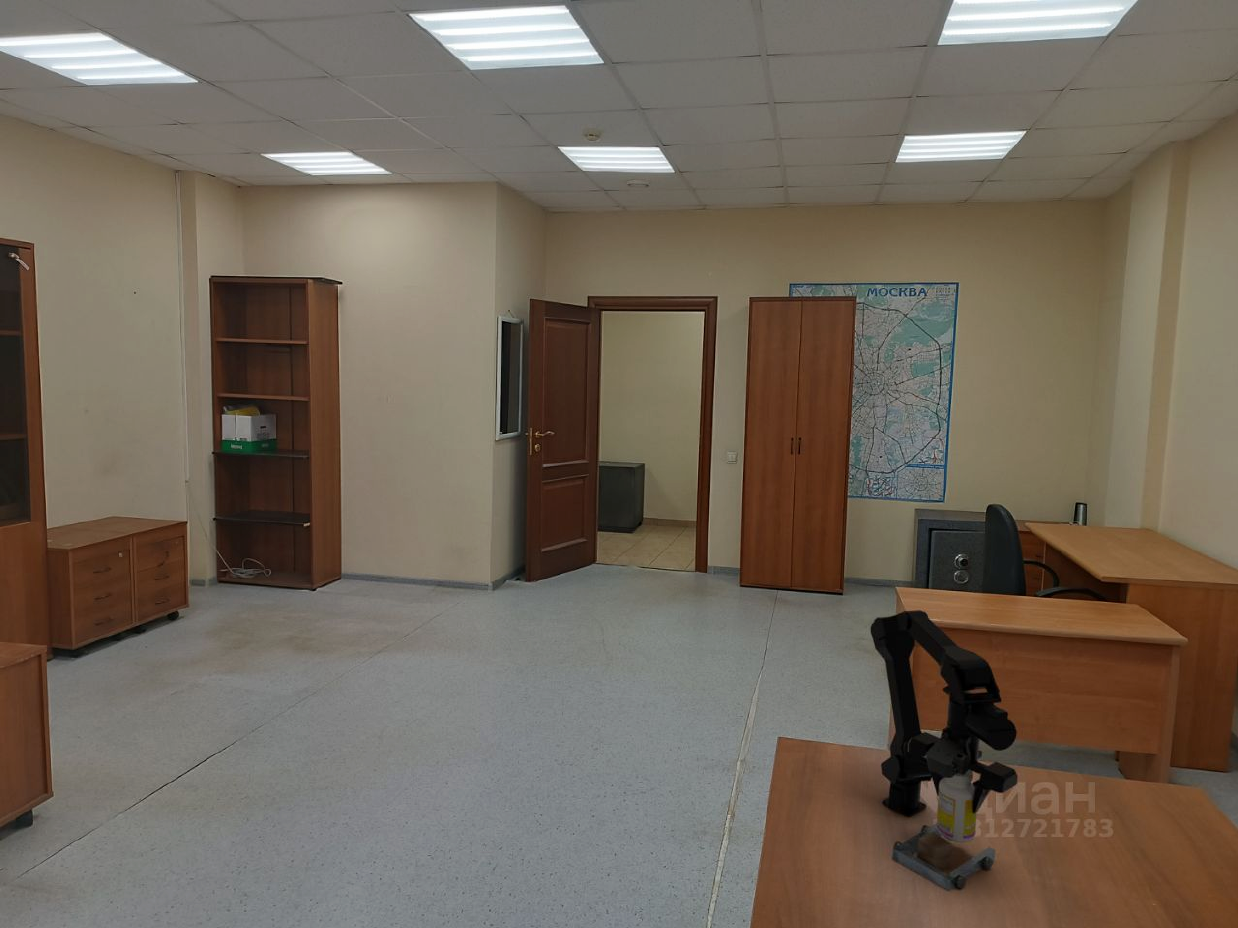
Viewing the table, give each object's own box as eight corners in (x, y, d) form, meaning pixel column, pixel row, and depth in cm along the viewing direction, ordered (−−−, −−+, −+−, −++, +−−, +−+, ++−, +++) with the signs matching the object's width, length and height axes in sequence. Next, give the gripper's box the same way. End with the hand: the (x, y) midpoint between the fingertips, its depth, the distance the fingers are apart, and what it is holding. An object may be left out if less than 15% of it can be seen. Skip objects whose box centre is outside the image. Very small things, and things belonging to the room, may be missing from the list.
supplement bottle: (973, 826, 157) (978, 764, 155) (976, 847, 151) (980, 782, 149) (935, 820, 159) (939, 758, 157) (936, 840, 153) (940, 775, 151)
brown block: (916, 863, 152) (918, 838, 152) (931, 856, 154) (933, 832, 154) (934, 875, 149) (936, 849, 148) (949, 868, 151) (951, 843, 150)
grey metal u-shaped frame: (933, 828, 164) (934, 818, 163) (999, 862, 153) (1000, 852, 153) (887, 855, 154) (888, 845, 154) (954, 893, 144) (955, 883, 144)
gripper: (893, 717, 154) (887, 795, 157) (990, 757, 140) (982, 843, 142) (927, 702, 161) (921, 777, 163) (1022, 739, 147) (1014, 821, 149)
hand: (957, 803), depth 154 cm, fingers closed on supplement bottle, 7 cm apart
